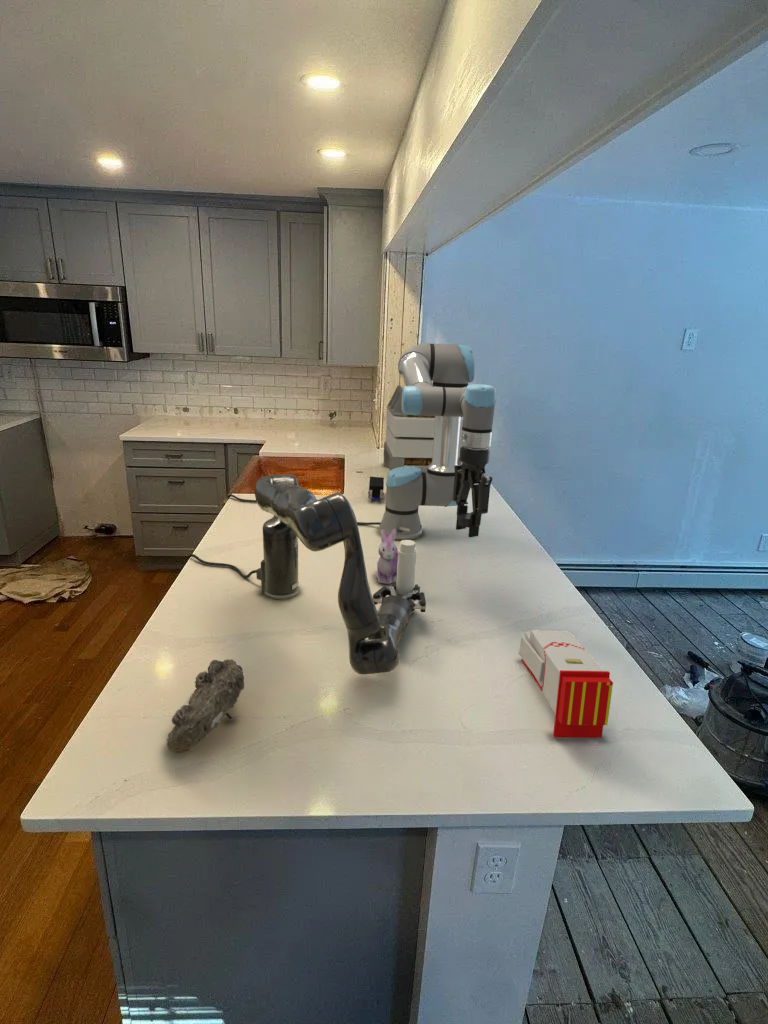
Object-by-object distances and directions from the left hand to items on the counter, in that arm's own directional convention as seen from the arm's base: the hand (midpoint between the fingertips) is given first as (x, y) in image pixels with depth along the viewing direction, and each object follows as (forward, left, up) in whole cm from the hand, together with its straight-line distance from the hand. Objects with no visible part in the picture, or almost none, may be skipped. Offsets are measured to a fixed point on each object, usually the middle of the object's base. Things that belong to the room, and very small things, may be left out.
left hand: (406, 586), depth 149 cm
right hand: (+14, +10, +13) cm, 21 cm away
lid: (+14, +10, +18) cm, 24 cm away
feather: (-60, +52, -6) cm, 80 cm away
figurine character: (-30, +85, -6) cm, 91 cm away
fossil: (-26, -53, -6) cm, 60 cm away
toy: (+38, -26, -6) cm, 46 cm away
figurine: (-8, +15, -6) cm, 18 cm away
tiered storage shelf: (-20, +130, -6) cm, 132 cm away
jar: (0, -3, -6) cm, 7 cm away
